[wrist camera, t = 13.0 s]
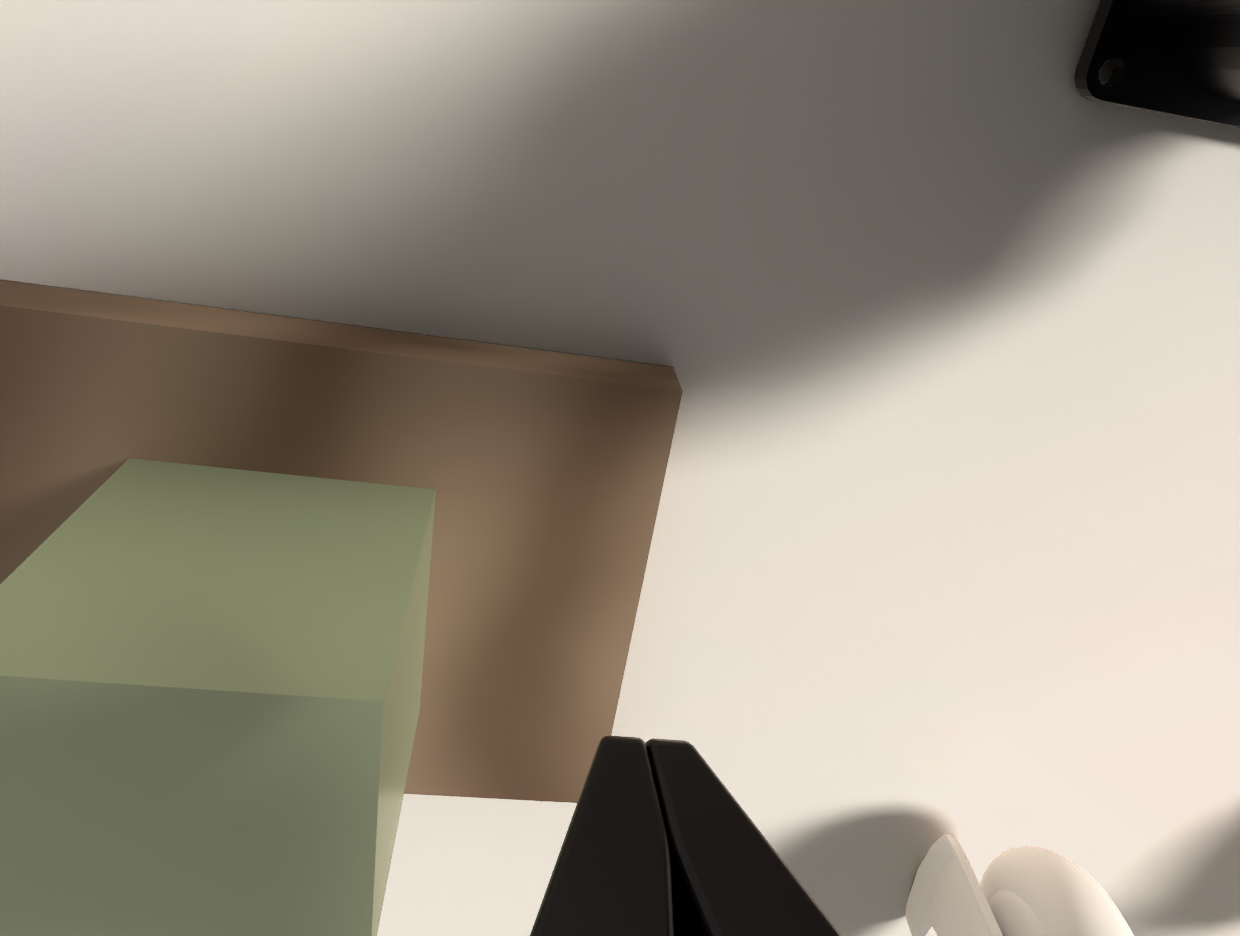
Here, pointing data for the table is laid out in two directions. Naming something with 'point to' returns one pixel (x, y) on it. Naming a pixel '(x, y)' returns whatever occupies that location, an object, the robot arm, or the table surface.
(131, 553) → the sage green cube
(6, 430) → the brown rectangular block
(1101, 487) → the table surface
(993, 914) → the headset
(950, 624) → the table surface
